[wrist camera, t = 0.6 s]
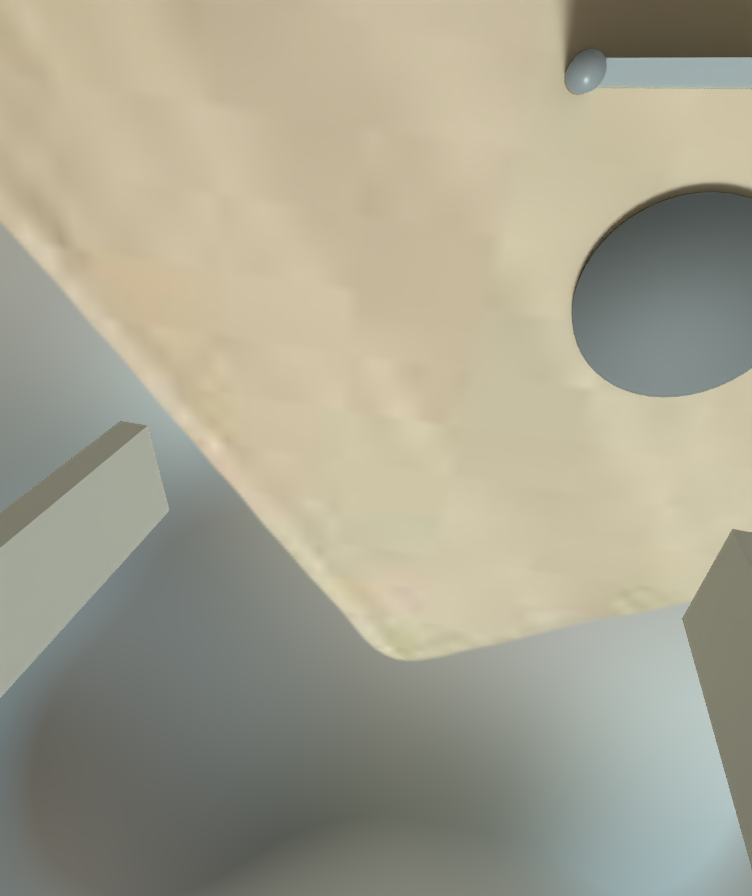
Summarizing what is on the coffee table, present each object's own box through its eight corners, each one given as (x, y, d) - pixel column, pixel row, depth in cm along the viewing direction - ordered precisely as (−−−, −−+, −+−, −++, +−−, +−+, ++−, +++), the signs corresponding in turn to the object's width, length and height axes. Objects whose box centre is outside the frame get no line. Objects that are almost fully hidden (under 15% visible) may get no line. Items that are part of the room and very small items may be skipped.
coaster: (598, 186, 29) (598, 187, 28) (847, 197, 26) (851, 198, 26) (554, 382, 35) (554, 384, 35) (750, 405, 33) (752, 408, 33)
